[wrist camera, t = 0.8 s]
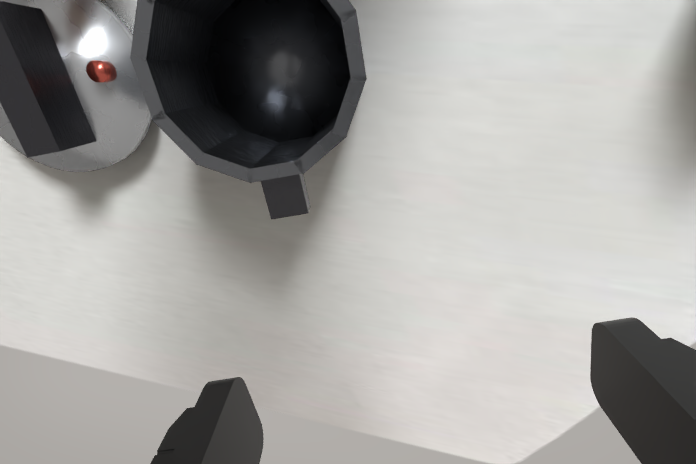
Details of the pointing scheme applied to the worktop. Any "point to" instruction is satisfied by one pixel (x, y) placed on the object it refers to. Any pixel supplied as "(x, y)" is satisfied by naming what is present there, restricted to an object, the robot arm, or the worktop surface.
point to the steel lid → (69, 84)
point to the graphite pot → (252, 85)
